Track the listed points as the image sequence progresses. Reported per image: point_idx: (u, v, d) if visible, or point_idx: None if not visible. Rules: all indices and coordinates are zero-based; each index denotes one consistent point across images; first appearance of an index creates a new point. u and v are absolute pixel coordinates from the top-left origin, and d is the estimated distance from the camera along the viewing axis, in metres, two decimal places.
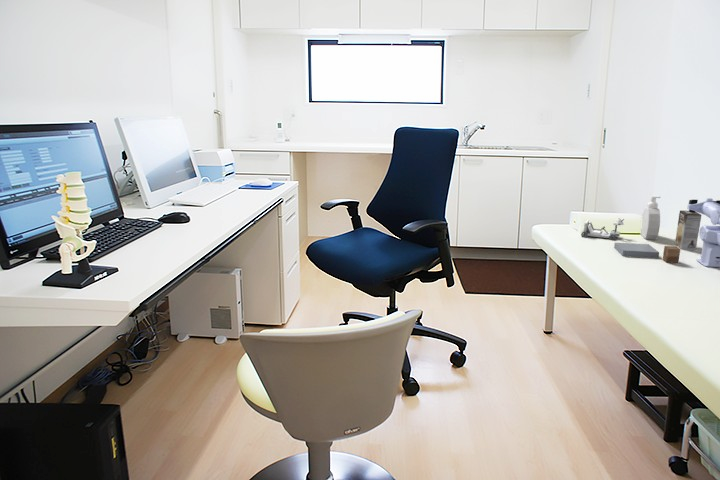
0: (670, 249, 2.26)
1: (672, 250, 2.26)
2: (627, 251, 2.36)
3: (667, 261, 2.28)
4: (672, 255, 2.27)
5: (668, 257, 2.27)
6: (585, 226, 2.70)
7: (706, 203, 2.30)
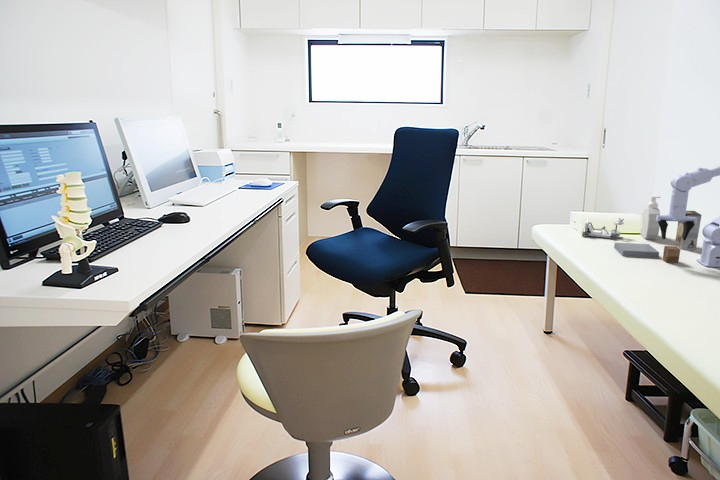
0: (670, 249, 2.26)
1: (672, 250, 2.26)
2: (627, 251, 2.36)
3: (667, 261, 2.28)
4: (672, 255, 2.27)
5: (668, 257, 2.27)
6: (586, 226, 2.70)
7: None
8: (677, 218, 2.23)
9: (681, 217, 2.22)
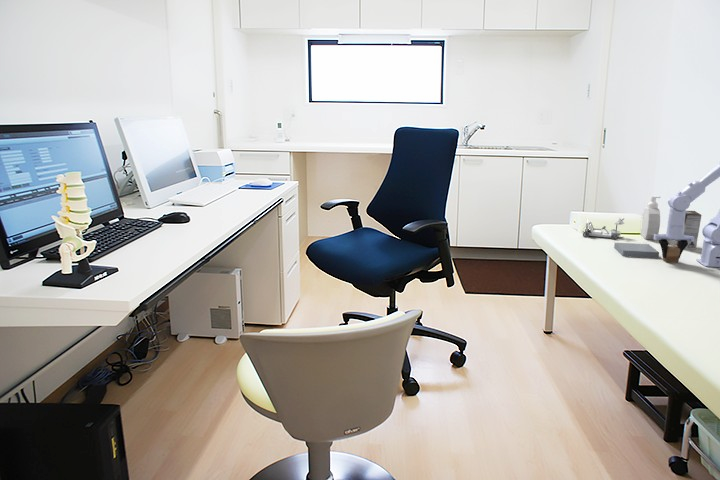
0: (670, 249, 2.26)
1: (672, 250, 2.26)
2: (627, 251, 2.36)
3: (667, 261, 2.28)
4: (672, 254, 2.27)
5: (668, 257, 2.27)
6: (586, 226, 2.71)
7: None
8: (674, 237, 2.24)
9: (678, 236, 2.24)
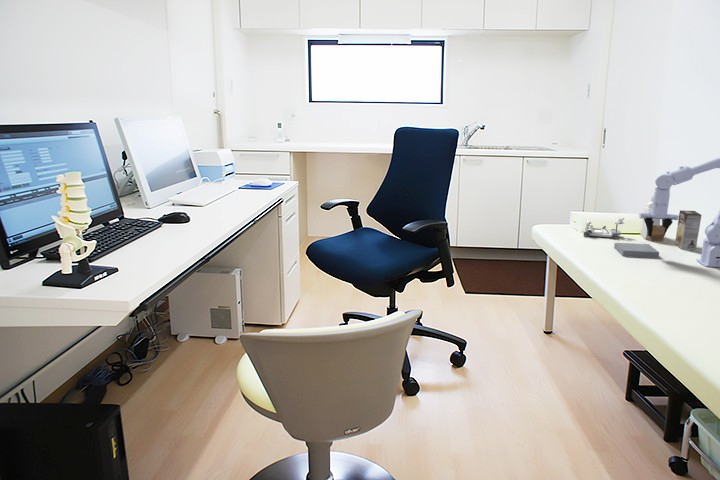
0: (655, 227, 2.31)
1: (657, 228, 2.31)
2: (627, 251, 2.36)
3: (652, 239, 2.32)
4: (657, 233, 2.31)
5: (653, 235, 2.32)
6: (587, 226, 2.71)
7: None
8: (659, 216, 2.29)
9: (663, 215, 2.29)
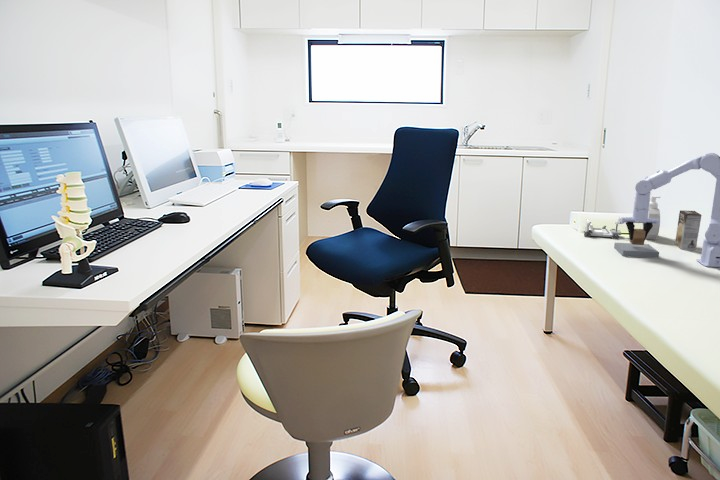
0: (636, 231, 2.38)
1: (638, 232, 2.38)
2: (627, 251, 2.36)
3: (633, 243, 2.40)
4: (638, 236, 2.39)
5: (634, 239, 2.39)
6: (588, 226, 2.71)
7: None
8: (640, 220, 2.37)
9: (643, 219, 2.36)
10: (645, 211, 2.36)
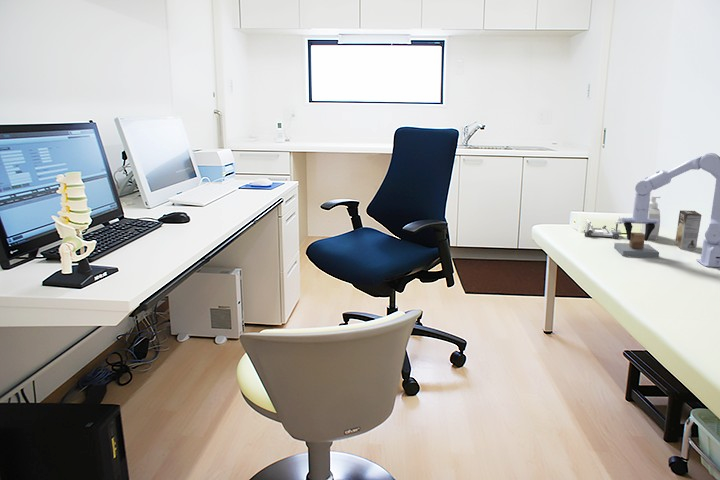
0: (635, 235, 2.39)
1: (637, 236, 2.39)
2: (627, 251, 2.36)
3: (633, 246, 2.40)
4: (637, 240, 2.39)
5: (634, 242, 2.40)
6: (588, 226, 2.71)
7: None
8: (640, 220, 2.37)
9: (643, 219, 2.36)
10: (645, 211, 2.36)
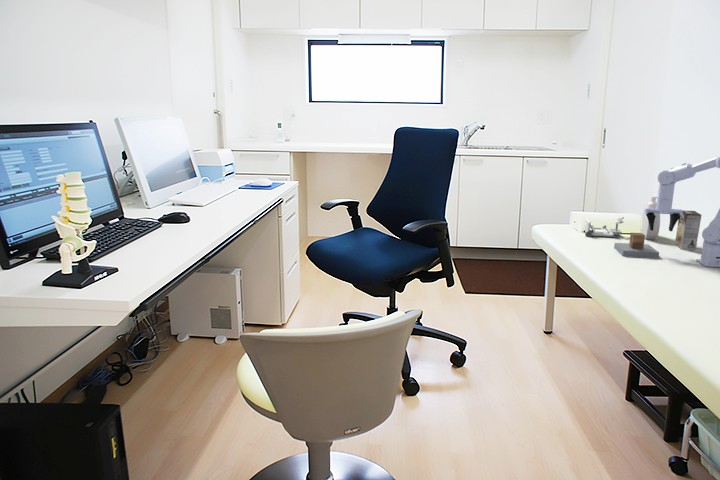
0: (635, 235, 2.39)
1: (637, 236, 2.39)
2: (627, 251, 2.36)
3: (633, 247, 2.40)
4: (637, 240, 2.39)
5: (634, 243, 2.40)
6: (589, 226, 2.71)
7: None
8: (664, 210, 2.36)
9: (668, 209, 2.36)
10: (669, 202, 2.35)
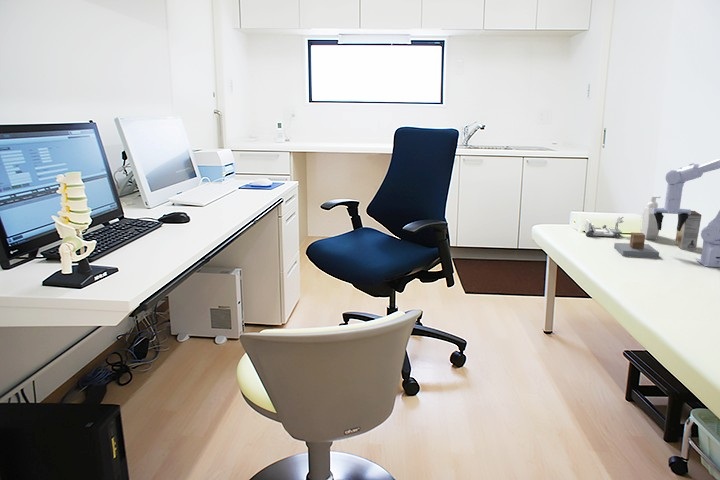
0: (635, 235, 2.39)
1: (637, 236, 2.39)
2: (627, 251, 2.36)
3: (633, 247, 2.40)
4: (637, 240, 2.39)
5: (634, 243, 2.40)
6: (590, 226, 2.71)
7: None
8: (672, 210, 2.36)
9: (676, 209, 2.36)
10: (677, 201, 2.35)
